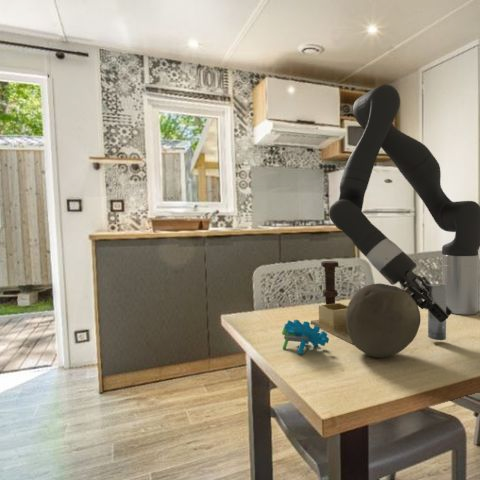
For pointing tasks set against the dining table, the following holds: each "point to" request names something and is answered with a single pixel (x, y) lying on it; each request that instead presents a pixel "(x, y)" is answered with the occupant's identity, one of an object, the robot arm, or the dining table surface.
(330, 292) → the bolt
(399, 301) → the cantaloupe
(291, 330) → the blue lobed toy
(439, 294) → the pin
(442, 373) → the dining table surface
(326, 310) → the hinge leaf
